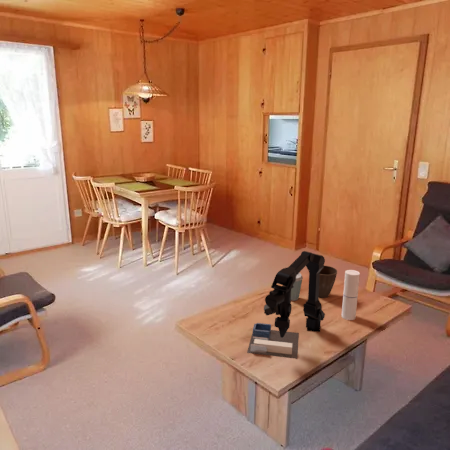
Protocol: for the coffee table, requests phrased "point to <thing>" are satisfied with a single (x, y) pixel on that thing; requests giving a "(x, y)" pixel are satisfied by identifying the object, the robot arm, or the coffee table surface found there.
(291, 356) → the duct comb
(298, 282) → the disposable coffee cup
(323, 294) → the plant pot
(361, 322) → the coffee table surface
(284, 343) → the long cream bar
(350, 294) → the cylindrical container
